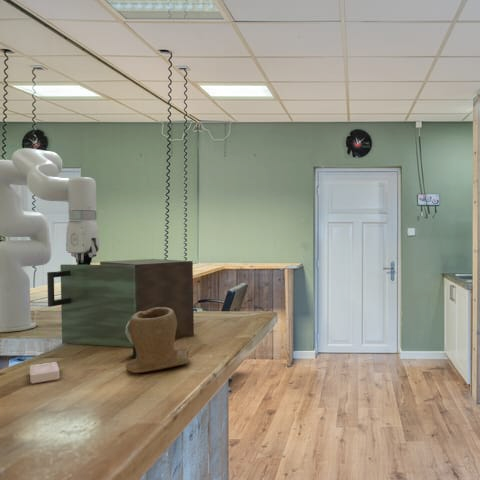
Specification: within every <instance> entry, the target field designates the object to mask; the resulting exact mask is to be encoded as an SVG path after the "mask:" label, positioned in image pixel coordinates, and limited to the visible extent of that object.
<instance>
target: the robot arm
mask: <svg viewBox="0 0 480 480" xmlns="http://www.w3.org/2000/svg"><path fill="white" fill-rule="evenodd" d="M63 163H64V162H63V159H62V158H61V156H60V155H59V154H58V153H56V152H55V151H50V150H44V149H37V148H31V147H30V148H29V147H23V148H19V149H17V150H15V151H14V152H13V153H12V154H11V159H0V237H4V238H29V239H28V240H27V239H18V240H17V239H15V240H14V239H13V240H2V241H0V333H10V332H21V331H26V330H30V329H34V328H36V327H37V323H36V322H32V321H31V281H30V277H29V274H27V272H26V271H25V270H24V269H23V268H25V267H37V266H44V265H47V264H48V263H49V262H50V261H51V259H52V244H51V237H50V229H49V223H48V219H47V218H46V216H45V215H44V214H43V213H41V212H39V211H29V210H24V209H23V204H22V203H23V202H22V198H21V196H20V195H19V193H18V192H17V191H16V190H15V189H14V188H13V187H12V186H11V185H15V186H26V187H27V188H28V190H29V191H30V192H31V193H32V194H33V195H34V196H36V197H37V198H39V199H40V200H42V201H48V202H65V203H67V204H68V222H67V226H66V234H65V251H66V252H67V253H69V254H70V255H71V257H73V258H74V259H75V263H76V265H91V263H92V261H93V258H95V257H97V253H98V252H99V251H100V250H99V249H100V235H99V227H98V222H97V221H98V220H97V217H98V216H97V215H98V214H97V182H96V180H95V179H94V178H93V177H86V176H73V177H70V178H68V177H59V175H60V173H61V172H62V170H63V165H64V164H63Z"/></svg>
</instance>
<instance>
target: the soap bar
mask: <svg viewBox="0 0 480 480" xmlns="http://www.w3.org/2000/svg"><path fill="white" fill-rule="evenodd" d="M29 379H30V384H33V385H34V384H39V383H45V382H52V381H58V380H59V379H60V368H59V365H58V362H56V361H50V362H43V363H36V364H31V365H30V366H29Z"/></svg>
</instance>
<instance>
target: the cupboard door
mask: <svg viewBox="0 0 480 480" xmlns="http://www.w3.org/2000/svg"><path fill="white" fill-rule="evenodd" d="M59 269H60V270H57V271H56V270H55V271H48V272H46V276H47V278H46V279H47V280H46V281H47V283H46V285H47V307H48V308H52V307H56V306H61V307H60V308H61V310H60V311H61V313H60V315H61V343H62V344H75V345H91V346H106V347H107V346H108V347H124V348H133V344H132V343H131V342H130V341H129V339H128V338H127V336H126V333H125V331H126V325H127V323H128V322H129V321H130V318H131V317H132V316H133V315H134V314H135V313H136V283H135V265H100V264H90V265H77V264H66V263H65V264H64V263H63V264H60V268H59ZM55 278H60V298H58V299H55ZM127 328H128V331H129V334H130V324H129V325H128V327H127Z"/></svg>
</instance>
